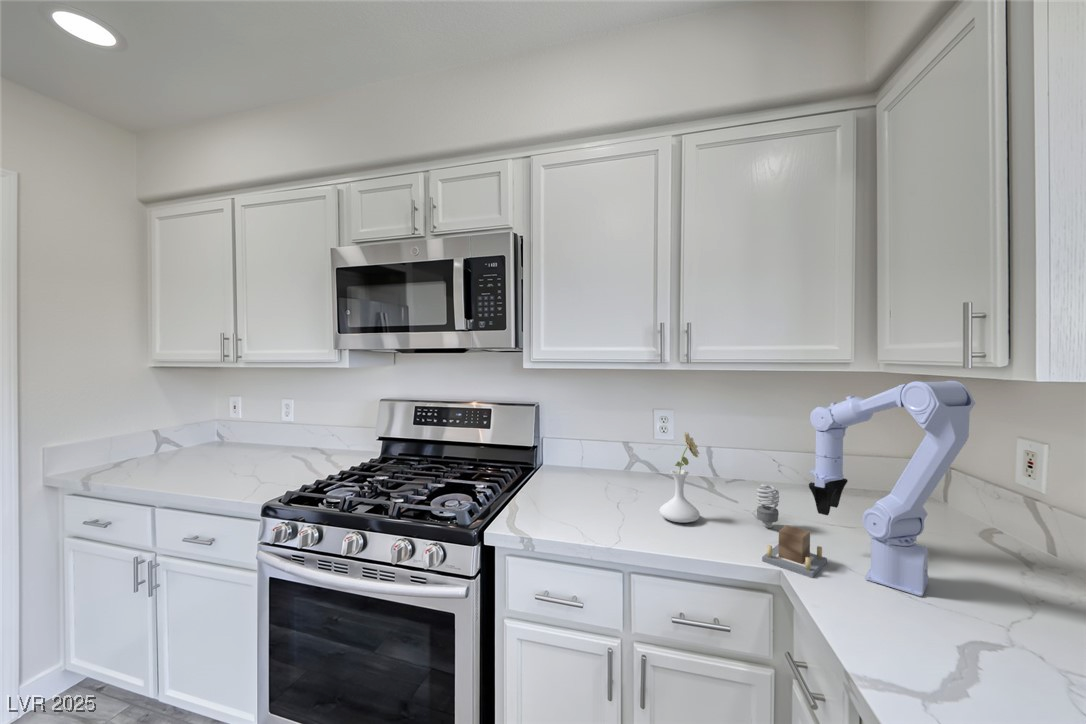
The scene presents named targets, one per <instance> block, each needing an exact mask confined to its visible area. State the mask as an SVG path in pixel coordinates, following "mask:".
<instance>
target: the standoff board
mask: <svg viewBox="0 0 1086 724" xmlns="http://www.w3.org/2000/svg"><path fill="white" fill-rule="evenodd" d="M766 550H767V551H766V553H765V554H764V555H763V556H761V562H764V563H766V564H770V565H773V566H776V567H779V568H781V569H784V570H787V571H790V572H794V573H796V574H799V575H802V576H806V577H808V578H812V579H813V578H814V577H815V576H816V574H818V572H820V571H821V569H822V568H823V567H824V566H825V565H826V564H827V563H828V557H825V556H823V547H822V546H820V545H819V546H816V554H814V553H812V552H810V557H806V559H805V562H804V563H803V564H800V563H797V562H794V561H791V560H788V559H785V558H782V557H778V555H779V543H778V544H776V545H775V546H774V547H773V545H767V549H766Z"/></svg>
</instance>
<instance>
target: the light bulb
mask: <svg viewBox="0 0 1086 724" xmlns="http://www.w3.org/2000/svg"><path fill="white" fill-rule="evenodd" d="M756 491H757V492H756V497H755V498H756V499H757V501H756V502H757V504H758V506H757V508H756V517H757V519H758V520H759V521H762V522H761V523H762V526H763V527H765V528H766V529H770V528H772V527H773V523H774V524H775V523H776V522H778V519H779V509H778V506H779V502H780V491H779V489H778V488H776V487H775V486H773V485H771V484H760V487H758V488H756Z"/></svg>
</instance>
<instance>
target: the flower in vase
mask: <svg viewBox="0 0 1086 724" xmlns="http://www.w3.org/2000/svg"><path fill="white" fill-rule="evenodd" d="M683 437H684V443H685V444H686V447H685V449H684V450H683V453H682V455H681V460H680V461H677V462H676V463H675V465H674V466H675V467H678V468H679V469H671V470H670V473H671V475H672V476H673V479H674V485H675V491H674V492H675V493H674V495H673V497H672V498H671V499H669V500H668V501H667V502H665V503H664V504H662V505H661V506H660V508H659V510H658V513H659V514H660V516H661V517H662V518H664V519H666V520H668V521H671V522H675V523H681V524H682V523H692V522H695V521H698V520H699V519H700V517H701V514H700V512H699V510H698V509H697V507H695V505H693V504H692V503H691V502H689V501H688V500H687V498H686V497H685V494H684V486H685V481H686V478H687V476H688V475H689V471H687V470H683V469H682V467H683V466H684V465H685V466H688V465H689V459H688V458H687V457H686V456H685V453H686V452H687V449H688V451H689V452H690V453H691V455H692V456H693V457H694V458H697V459H698V458H700V457H699V455H700V452H699V450H698V449H699V448H698V446H697V444H696V442H695V441H694V438H693V437H690V434H689V432H685V431H684V433H683Z"/></svg>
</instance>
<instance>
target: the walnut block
mask: <svg viewBox="0 0 1086 724" xmlns="http://www.w3.org/2000/svg"><path fill="white" fill-rule="evenodd" d="M778 544H779V555H778V557H782V558H785V559H788V560H791V561H794V562H797V563H800V564H803V563H804V562H805V559H806V557H810V553H811V531H810V530H806V529H802V528H798V527H794V526H792V525H785V526H783V528H781V529H779V530H778Z"/></svg>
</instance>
